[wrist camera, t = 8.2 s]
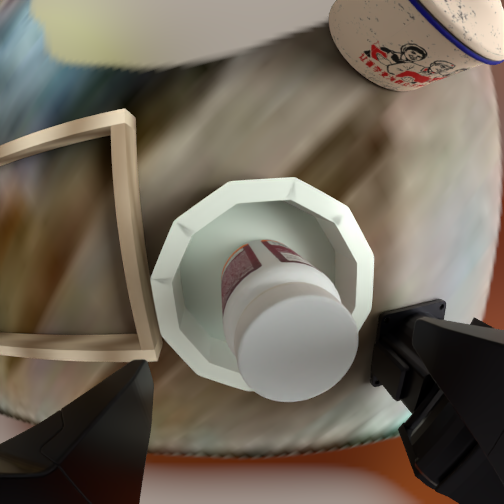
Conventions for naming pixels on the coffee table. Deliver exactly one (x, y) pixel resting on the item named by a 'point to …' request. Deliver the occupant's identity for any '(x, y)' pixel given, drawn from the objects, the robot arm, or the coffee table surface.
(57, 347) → the tray
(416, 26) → the teacup with lid
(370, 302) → the bowl
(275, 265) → the pill bottle
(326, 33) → the coffee table surface
